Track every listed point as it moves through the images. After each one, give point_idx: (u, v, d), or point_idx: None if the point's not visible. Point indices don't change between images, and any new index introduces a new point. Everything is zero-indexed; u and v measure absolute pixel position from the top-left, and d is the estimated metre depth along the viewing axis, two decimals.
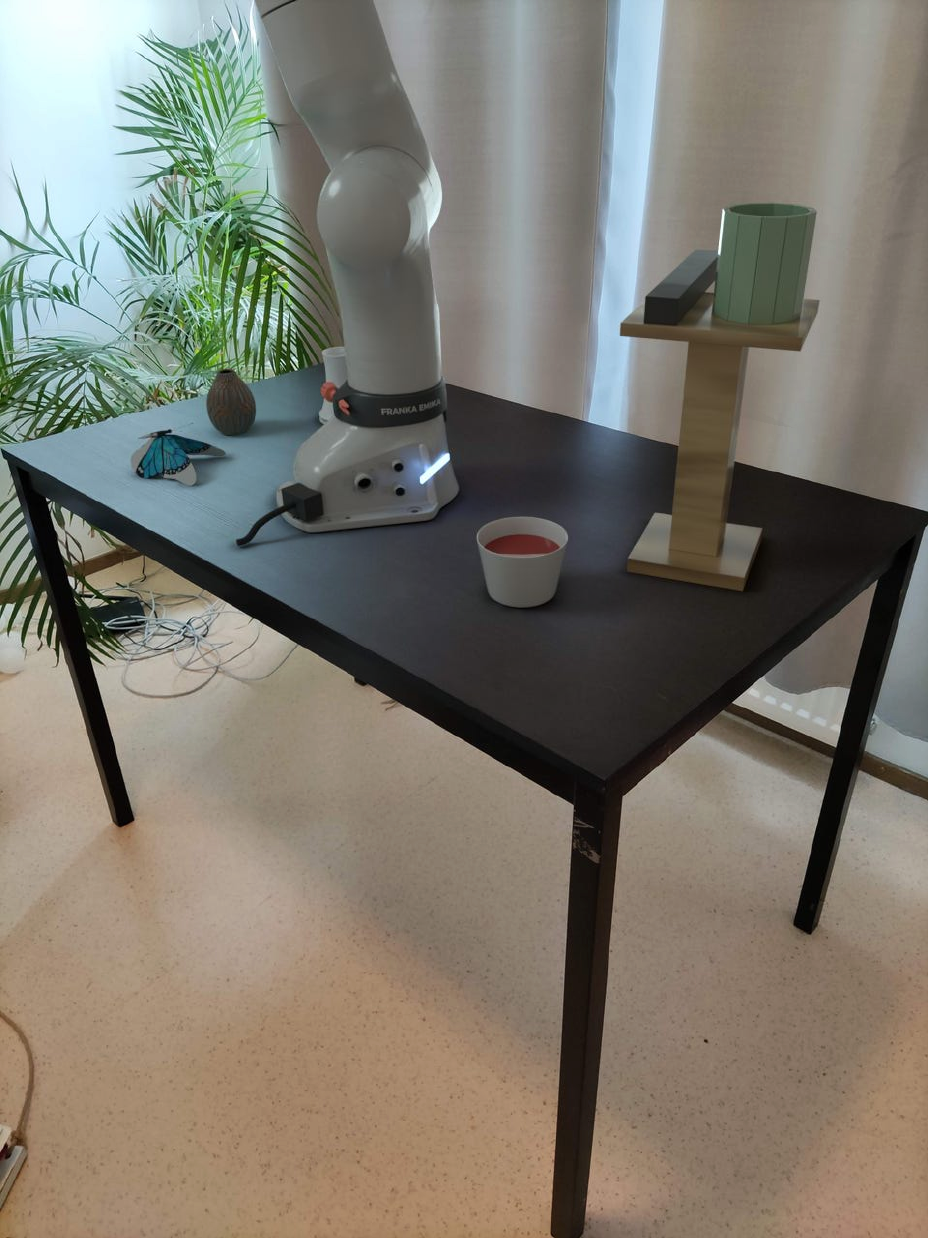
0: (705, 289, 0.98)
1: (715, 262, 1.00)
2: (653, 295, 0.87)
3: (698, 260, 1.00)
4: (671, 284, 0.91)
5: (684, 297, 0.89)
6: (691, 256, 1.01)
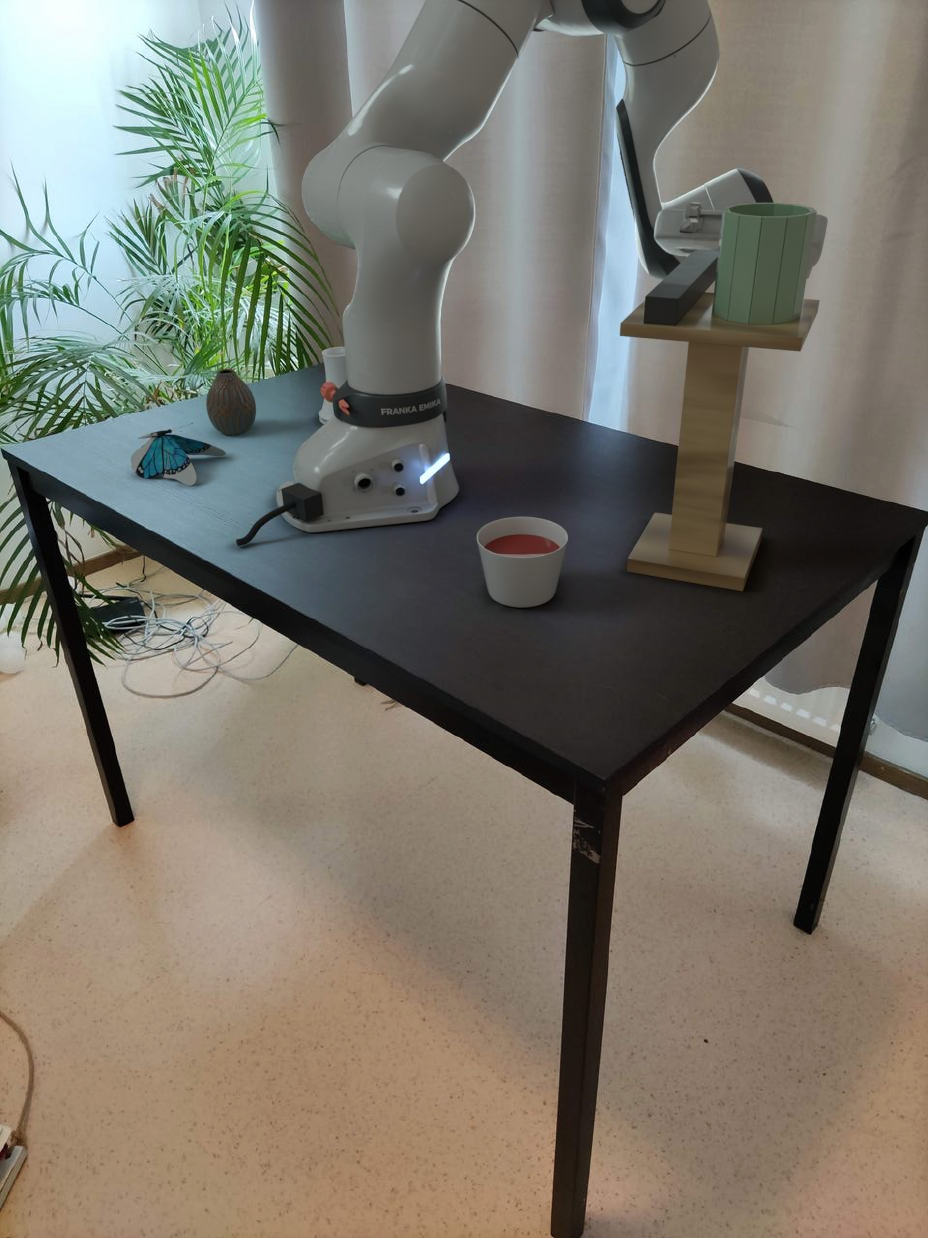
0: (705, 289, 0.98)
1: (715, 262, 1.00)
2: (653, 295, 0.87)
3: (698, 260, 1.00)
4: (671, 284, 0.91)
5: (684, 297, 0.89)
6: (691, 256, 1.01)
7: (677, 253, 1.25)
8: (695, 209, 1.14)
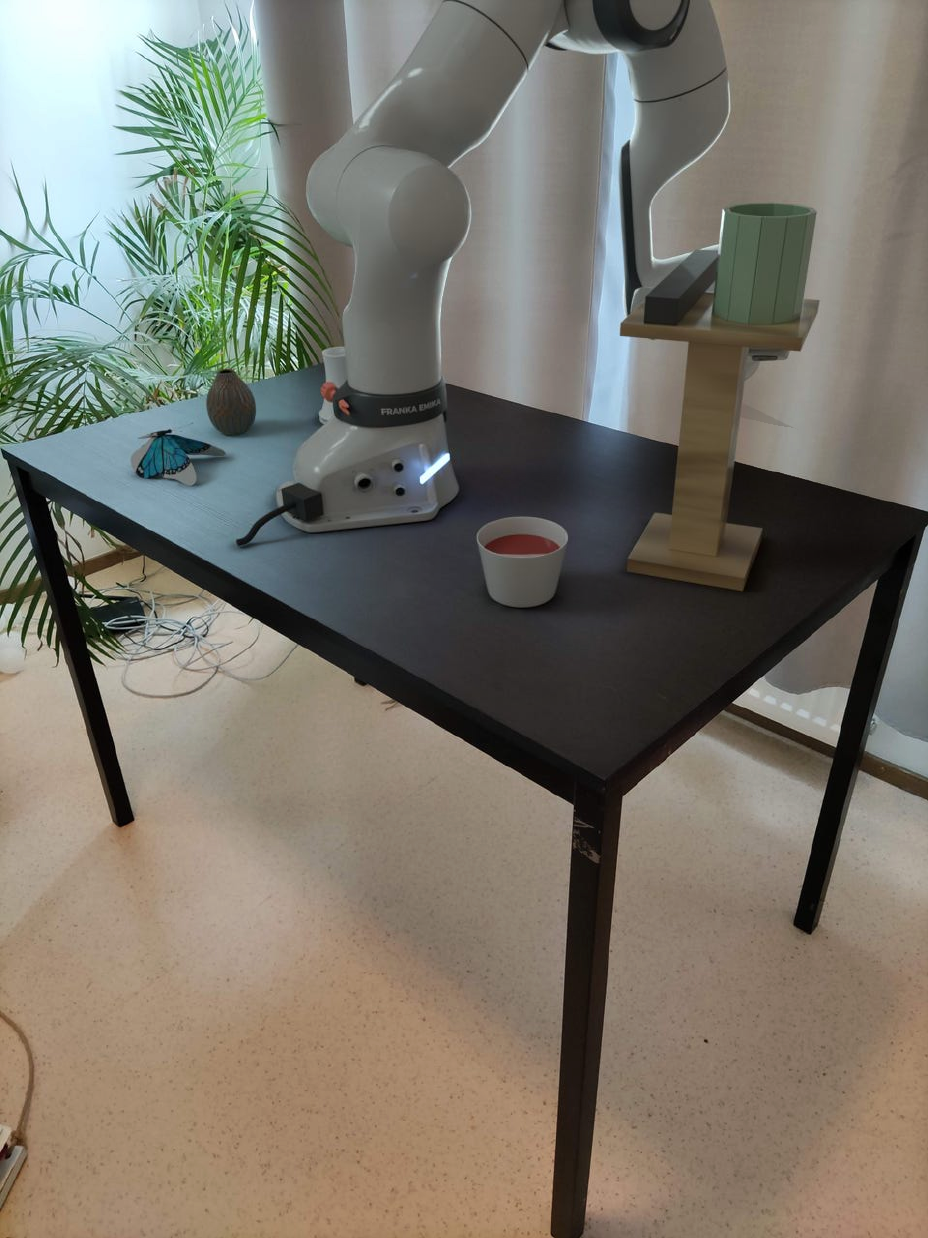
0: (705, 289, 0.98)
1: (715, 262, 1.00)
2: (653, 295, 0.87)
3: (698, 260, 1.00)
4: (671, 284, 0.91)
5: (684, 297, 0.89)
6: (691, 256, 1.01)
7: None
8: None
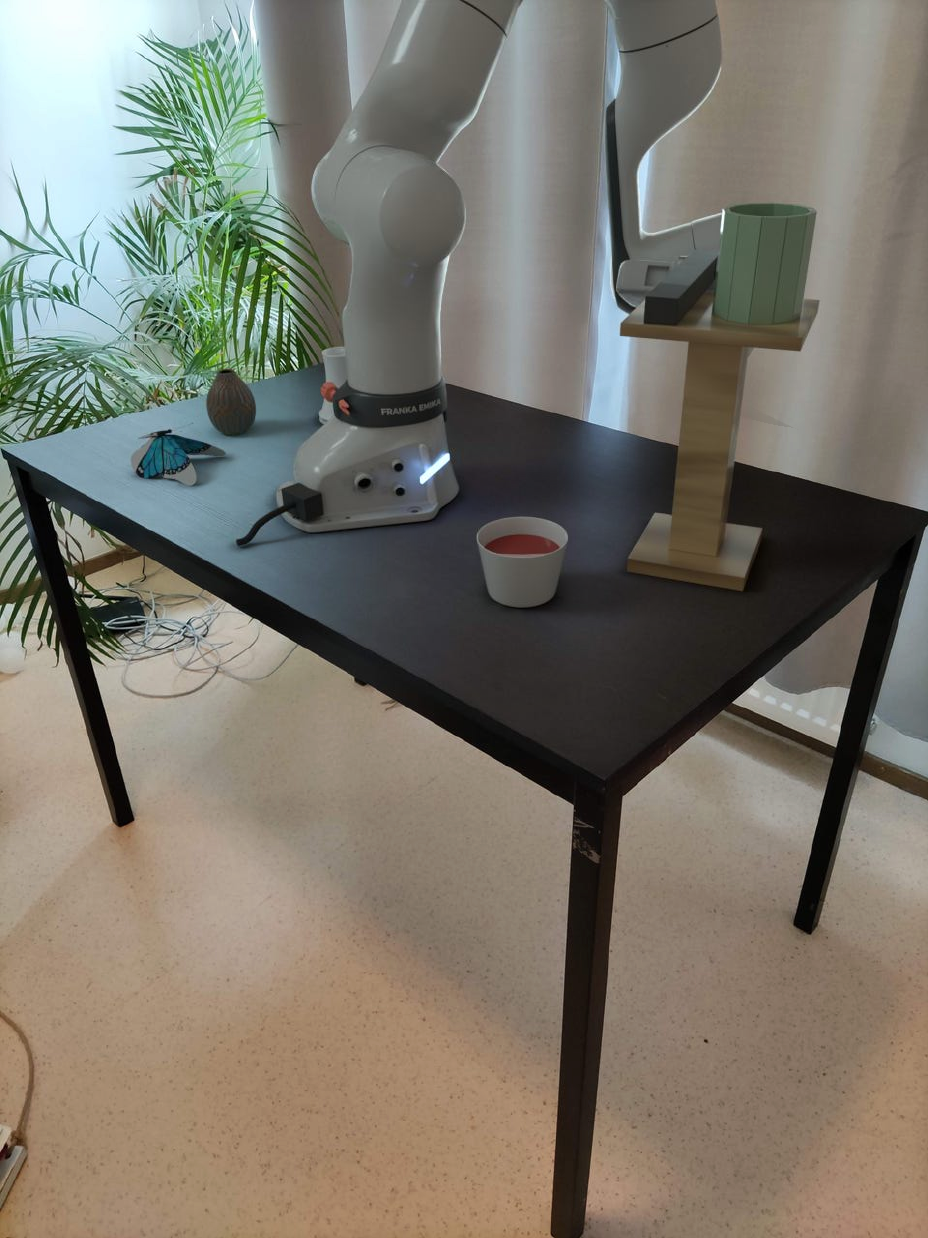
0: (705, 289, 0.98)
1: (715, 262, 1.00)
2: (653, 295, 0.87)
3: (698, 260, 1.00)
4: (671, 284, 0.91)
5: (684, 297, 0.89)
6: (691, 256, 1.01)
7: None
8: None
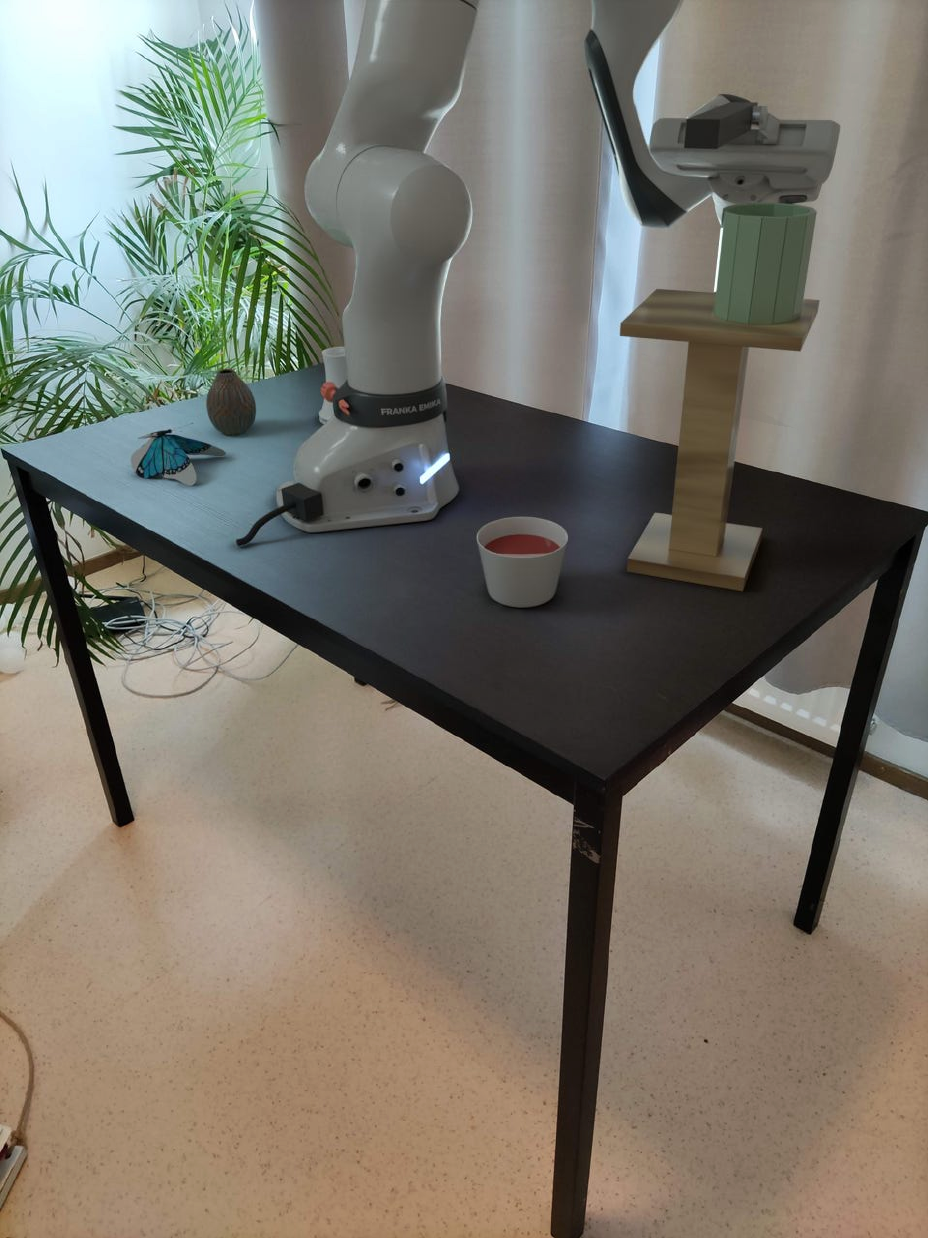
0: (741, 132, 0.98)
1: (751, 109, 1.00)
2: (694, 118, 0.87)
3: (734, 105, 1.00)
4: (711, 114, 0.91)
5: (725, 123, 0.89)
6: (726, 104, 1.01)
7: (673, 172, 1.14)
8: None
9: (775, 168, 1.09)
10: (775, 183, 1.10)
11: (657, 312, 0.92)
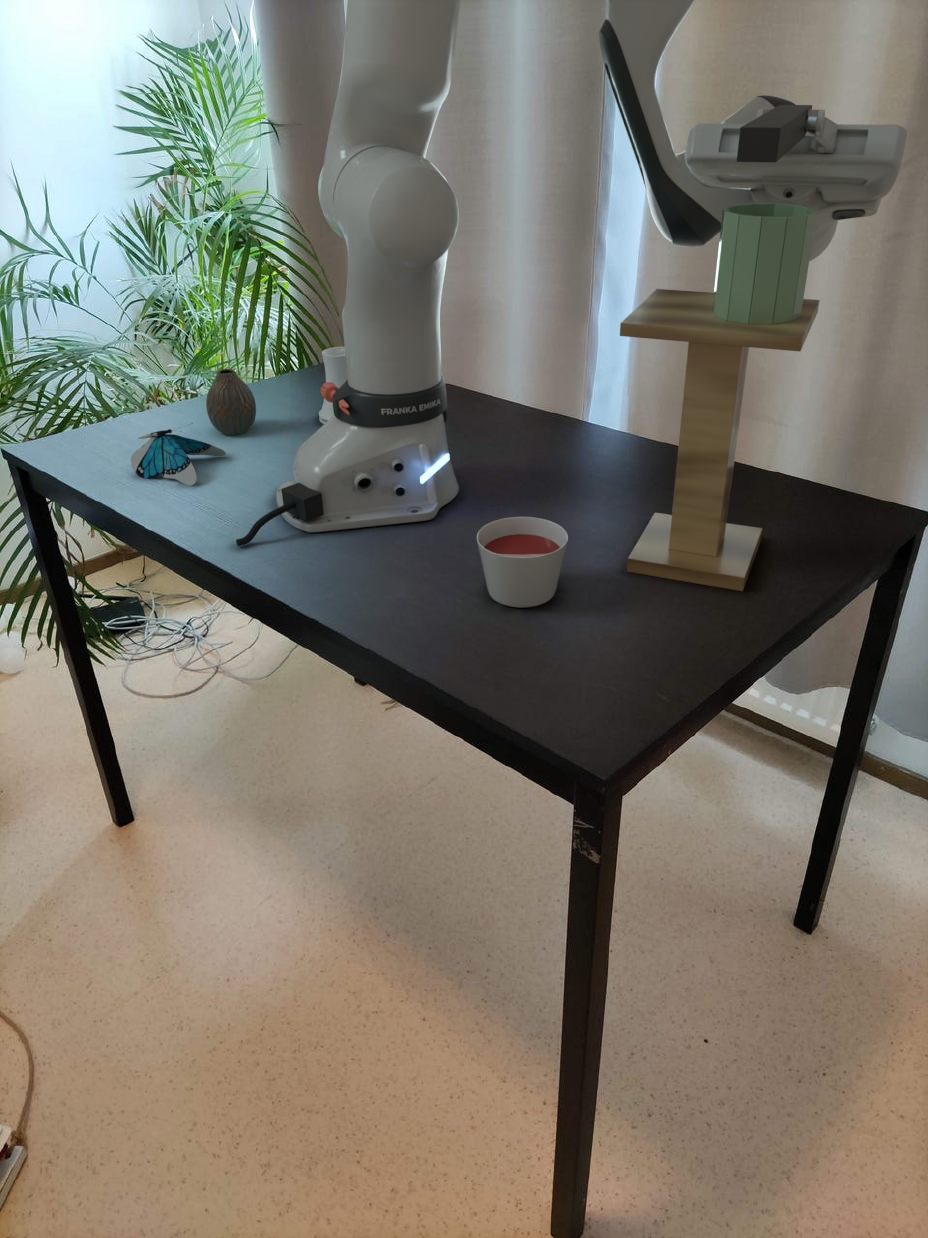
0: (797, 140, 0.85)
1: (806, 113, 0.87)
2: (749, 126, 0.74)
3: (787, 109, 0.86)
4: (766, 121, 0.78)
5: (784, 131, 0.75)
6: (777, 108, 0.88)
7: (711, 183, 1.01)
8: None
9: (829, 179, 0.96)
10: (829, 196, 0.97)
11: (657, 312, 0.92)
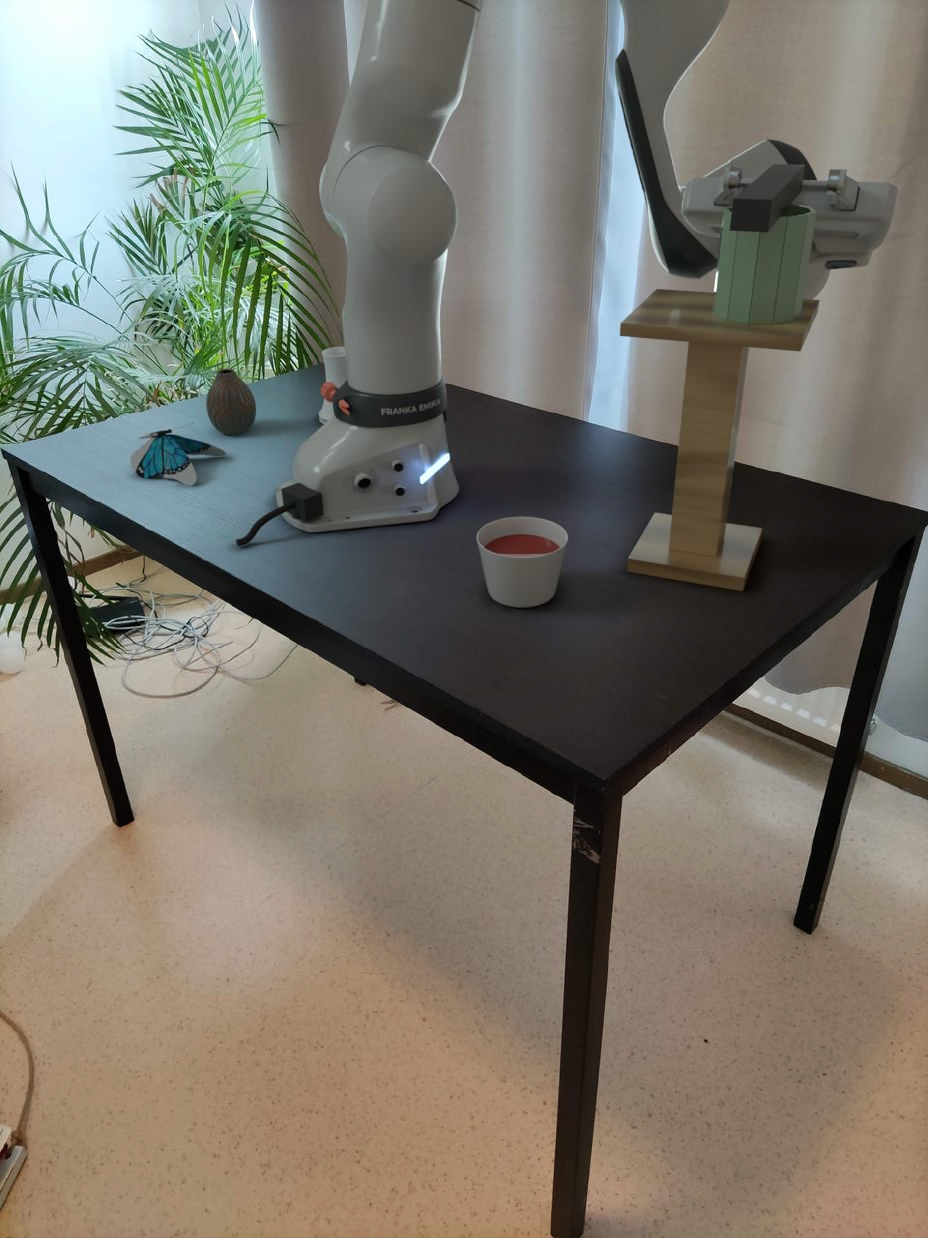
0: (790, 202, 0.87)
1: (799, 174, 0.89)
2: (742, 197, 0.77)
3: (780, 171, 0.89)
4: (758, 189, 0.80)
5: (776, 201, 0.78)
6: (771, 169, 0.91)
7: (707, 233, 1.03)
8: (735, 174, 0.92)
9: (822, 232, 0.98)
10: (821, 247, 0.99)
11: (657, 312, 0.92)
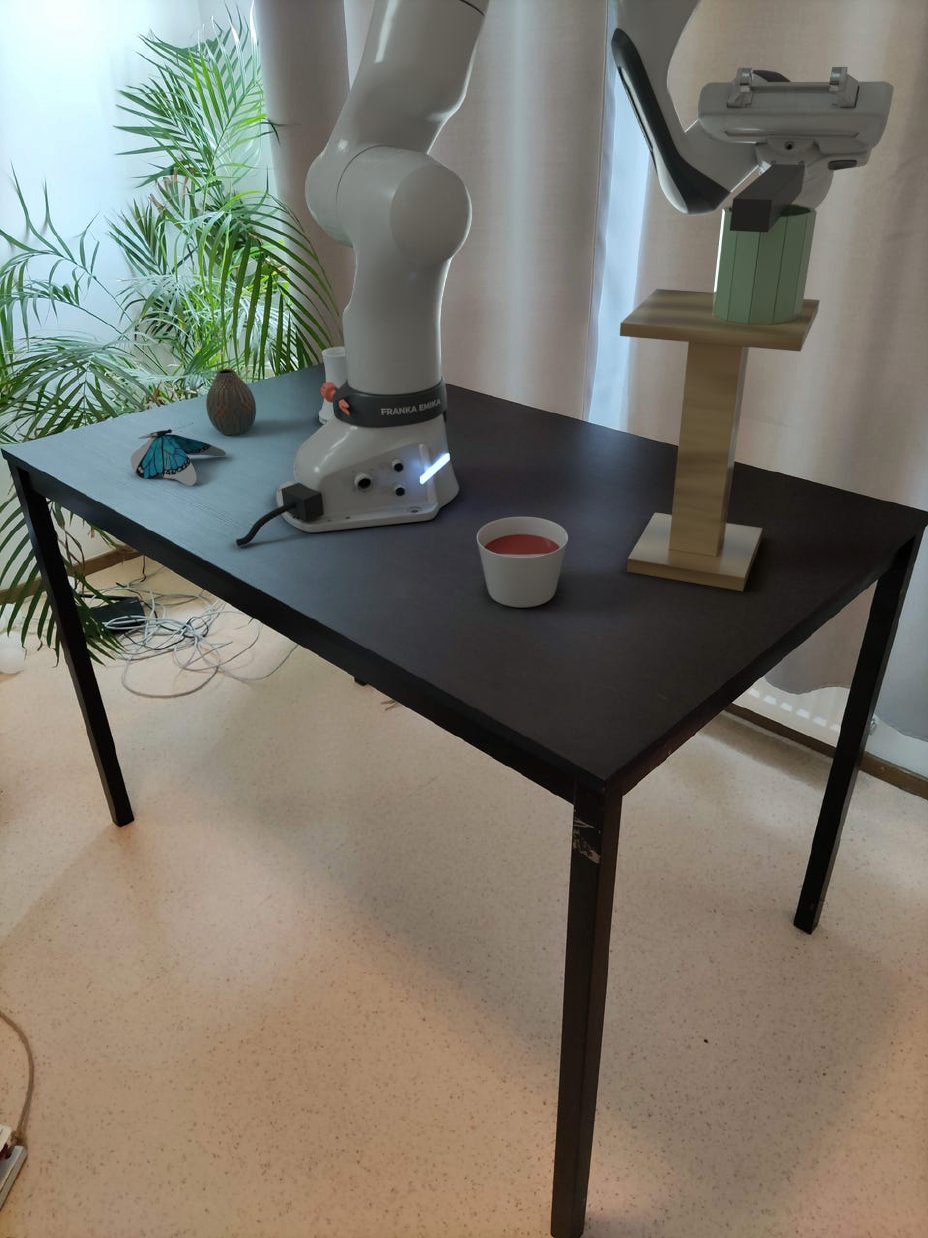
0: (790, 202, 0.87)
1: (799, 174, 0.89)
2: (742, 197, 0.77)
3: (780, 171, 0.89)
4: (758, 189, 0.80)
5: (776, 201, 0.78)
6: (771, 169, 0.91)
7: (720, 138, 1.13)
8: (747, 74, 1.02)
9: (825, 132, 1.08)
10: (824, 148, 1.09)
11: (657, 312, 0.92)
